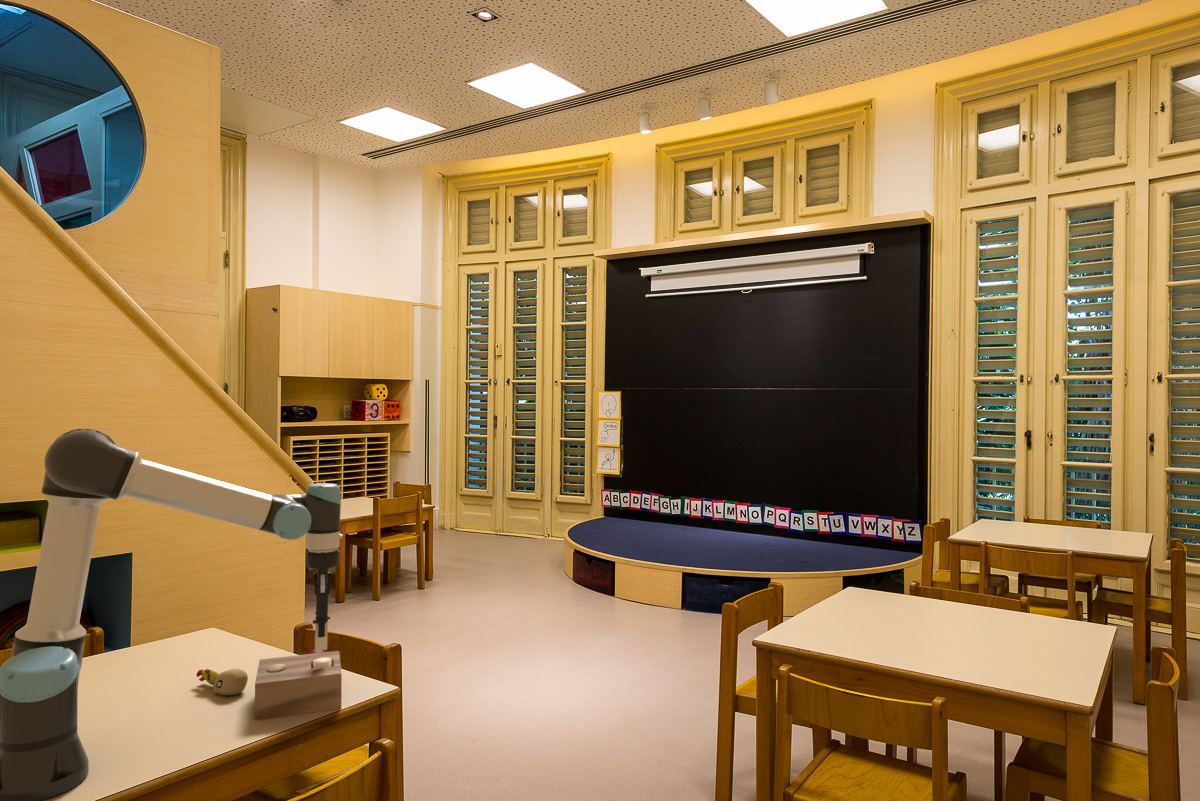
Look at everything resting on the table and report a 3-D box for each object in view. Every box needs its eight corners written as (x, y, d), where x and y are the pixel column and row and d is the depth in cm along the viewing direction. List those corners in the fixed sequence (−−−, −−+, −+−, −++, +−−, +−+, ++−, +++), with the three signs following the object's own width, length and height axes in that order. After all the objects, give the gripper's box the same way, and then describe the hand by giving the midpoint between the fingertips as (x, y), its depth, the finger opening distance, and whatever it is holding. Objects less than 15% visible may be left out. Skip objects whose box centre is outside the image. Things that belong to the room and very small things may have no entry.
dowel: (331, 696, 176) (331, 662, 176) (313, 698, 175) (313, 664, 174) (331, 690, 180) (331, 656, 180) (313, 692, 178) (313, 658, 178)
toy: (184, 676, 181) (222, 688, 174) (208, 654, 186) (246, 664, 179) (195, 693, 184) (234, 705, 176) (219, 671, 189) (257, 682, 182)
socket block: (341, 708, 171) (341, 671, 171) (254, 720, 165) (254, 681, 165) (338, 682, 186) (339, 649, 186) (259, 692, 180) (259, 657, 180)
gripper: (340, 554, 172) (338, 656, 172) (338, 543, 184) (336, 639, 184) (305, 555, 169) (303, 660, 169) (306, 544, 182) (304, 642, 182)
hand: (321, 649), depth 177 cm, fingers closed
